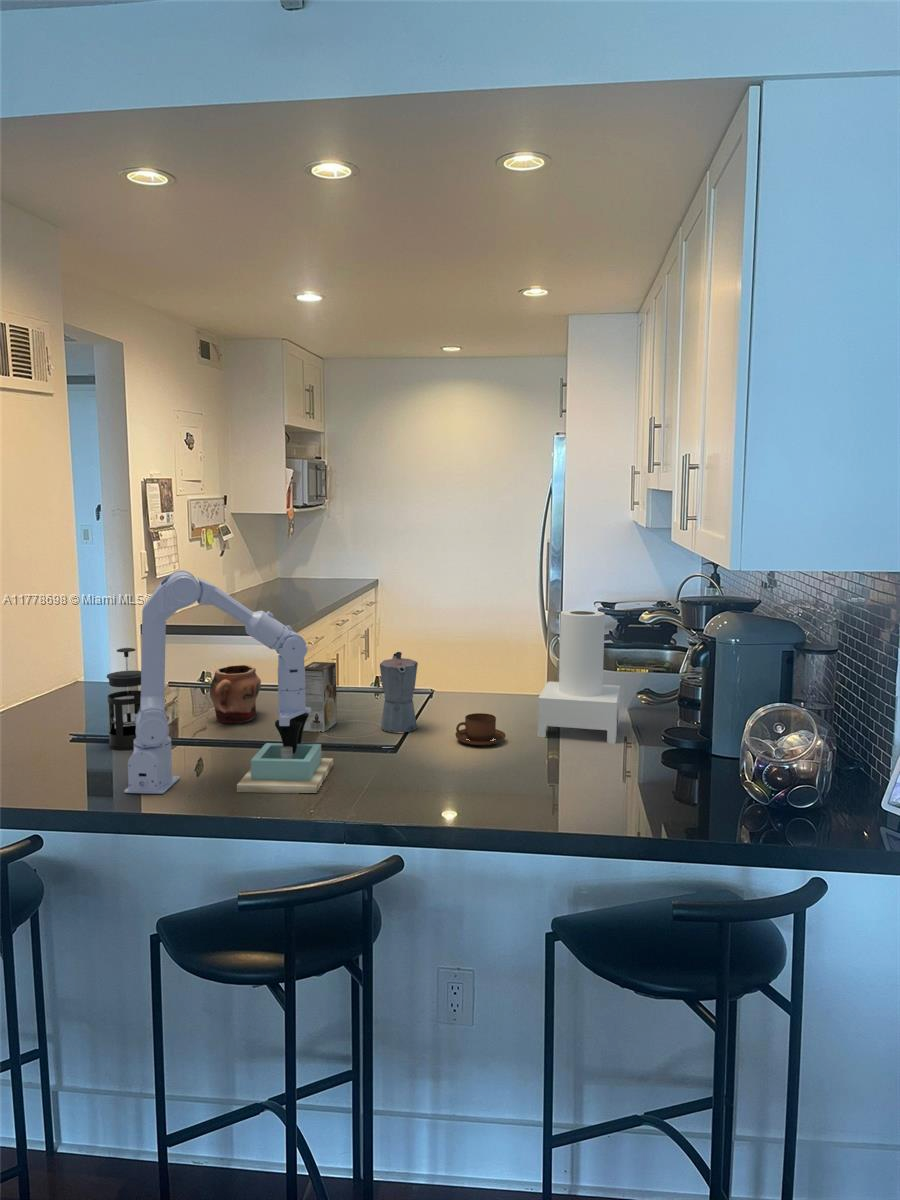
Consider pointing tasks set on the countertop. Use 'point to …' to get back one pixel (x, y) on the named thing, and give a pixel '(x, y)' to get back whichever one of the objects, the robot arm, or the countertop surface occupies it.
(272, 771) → the square loop
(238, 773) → the countertop surface
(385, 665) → the moka pot
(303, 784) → the post board
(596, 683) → the paper towel holder
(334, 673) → the coffee box
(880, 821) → the countertop surface
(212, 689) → the decorative planter
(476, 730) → the cup and saucer
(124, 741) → the french press
